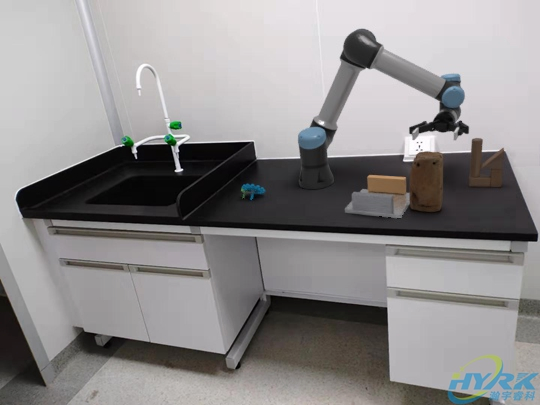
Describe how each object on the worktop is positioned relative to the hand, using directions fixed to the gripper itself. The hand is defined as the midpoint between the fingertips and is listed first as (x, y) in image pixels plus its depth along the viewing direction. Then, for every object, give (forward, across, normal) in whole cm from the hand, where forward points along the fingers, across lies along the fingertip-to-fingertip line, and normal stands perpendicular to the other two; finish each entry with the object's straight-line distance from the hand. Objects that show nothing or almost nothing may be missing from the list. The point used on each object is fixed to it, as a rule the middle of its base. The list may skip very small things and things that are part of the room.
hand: (433, 136), depth 143 cm
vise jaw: (+2, +17, -21) cm, 27 cm away
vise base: (+10, +17, -23) cm, 30 cm away
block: (+10, +1, -23) cm, 25 cm away
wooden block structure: (-15, -15, -24) cm, 32 cm away
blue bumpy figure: (+15, +70, -22) cm, 75 cm away
